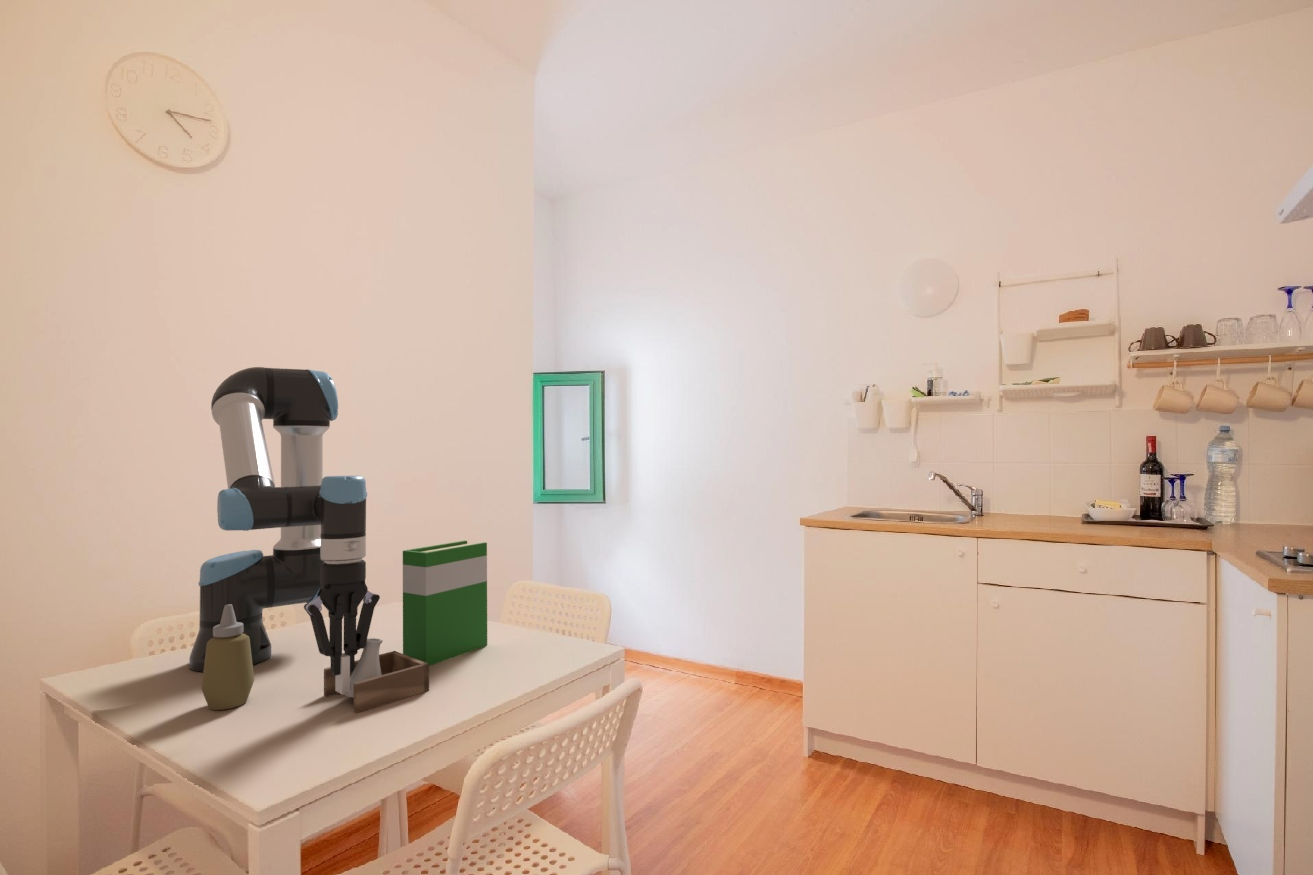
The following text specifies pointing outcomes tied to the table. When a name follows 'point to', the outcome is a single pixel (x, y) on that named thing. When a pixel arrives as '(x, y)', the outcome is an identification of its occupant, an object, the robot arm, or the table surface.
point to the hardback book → (444, 600)
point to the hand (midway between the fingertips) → (342, 691)
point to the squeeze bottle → (227, 664)
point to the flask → (366, 664)
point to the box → (386, 681)
